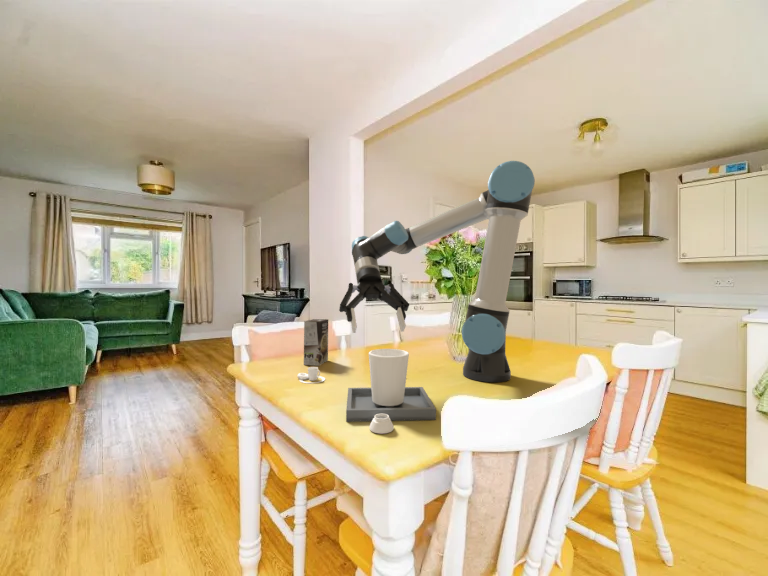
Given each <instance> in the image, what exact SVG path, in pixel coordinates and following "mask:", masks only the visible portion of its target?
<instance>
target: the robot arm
mask: <svg viewBox="0 0 768 576" xmlns="http://www.w3.org/2000/svg"><path fill="white" fill-rule="evenodd" d="M534 187H535V176H534V172H533V171H532V169H531V168H530V167H529V166H528V165H527V164H526V163H524V162H522V161H518V160H509V161H504V162H502V163H500V164H499V165H497V166H496V167H494V169H493V170H492V172H491V174H490V175H489V178H488V181H487V189H488V190H485V191H483V192H481V193H480V195H479V197H477V198H475V199H472V200H469V201H468V202H465V203H463V204H461V205H459V206H456V207H453V208H451V209H448V210H447V211H444V212H442V213H440V214H438V215H436V216H433V217H430V218H428V219H425V220H423V221H421V222H419V223H416V224H413V225H412V226H410V227H407V228H405V226H404V225H403V224H402V223H401V222H400V221H399V220H394V221H392V222H391V223H388V224H387V225H385V226H384V227H383V228H381V229H379V230H378V231H377V232H375V233H374V234H372V235H371V236H366V235H362V236H358V237H356V238H355V239H353V241H352V242H351V256H352V259H353V260H352V261H353V264H354V270H355V277H356V283H357V285H356V284H354V283H352V282H350V283H348V286H347V291H346V293H345V294H344V296H343V298H342V300H341V302H340V303H339V309H338V311H339V312H340V313H343V312H344V313H345V316H346V320H347V322H348V323H349V322H350V323H351V325H350V326H351V330H352V331H351V333H352V334H356V333H357V328H358V327H357V326H358V325H357V319H356V313H355V308H357V306H358V305H359V304H360V303H361V302H362V301H363V300H365V299H366V300H371V299H374V300H379V301H381V302H382V301H383V302H384V303H386V304H387V305H389V306H390V307H391V308H393V309H394V310H395V311H396V312H395V313H396V317H397V321H398V326H399V328H400V332H405V328H406V326H407V325H406V322H405V321H406V317H407V315H406V312H407V311H408V310H409V307H410V303H409V302H408V301H407V300H406V299H405V298H404V296H403V295H402V294H401V293H400V292H399V291H398V290H397V289H396V288H395V285H394V284H393V283H392V282H391V283H389V284H388V285H385V284H384V283H383V279H382V276H381V272H380V267H379V263H378V259H380V258H382V257H384V256H385V255H387V254H388V253H390V252H393V253H396V254H399V255H407V254H410V253H411V252H412V250H414V249H416V248H418V247H419V248H420V247H421V246H424V245H426V244H428V243H431V242H434V241H436V240H439V239H441V238H444V237H446V236H449V235H451V234H453V233H456V232H459V231H462V230H463V229H465V228H468V227H471V226H474V225H475V224H478V223H481V222H483V221H486V220H488V223H487V229H486V235H485V239H484V240H485V241H484V246H483V252H482V257H481V262H480V268H479V273H478V274H479V275H478V280H477V283H476V290H475V297H474V298H473V299H472V300H471V301H469V302H468V305H467V309H466V314H465V315H466V316H465V322H463V324H462V327H461V337H462V341H463V343H464V344H465V346H466V347H467V348H468V353H467V355H466V358H465V360H464V364H463V367H462V375H463V376H464V377H466V378H467V379H470V380H474V381H478V382H486V383H502V382H508V381H510V380H511V379H512V378H511V377H512V376H511V372H512V371H511V367H510V364H509V361H508V359H507V355H506V343H507V342H506V341H507V340H506V338H507V337H506V336H507V326H508V321H509V316H510V311H511V310H510V309H509V308H508V306H507V304H506V302H507V296H508V290H509V286H510V285H509V284H510V279H511V276H512V269H513V263H514V258H515V253H516V247H517V241H518V236H519V232H520V225H521V222H522V220H523V219H525V218H526V217H527V216H528V214H529V209H530V205H531V204H530V203H531V199H532V194H533V189H534ZM356 291H357V292H358V293H357V295H355V297H353V299H352V300H351V301H350V299H351V297H352V294H354V293H355V292H356ZM349 301H350V302H349Z"/></svg>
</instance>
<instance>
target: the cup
mask: <svg viewBox="0 0 768 576" xmlns="http://www.w3.org/2000/svg"><path fill="white" fill-rule="evenodd" d="M409 355H410V353H409V352H408V351H407V350H403V349H399V348H378V349H372V350H370V351H369V352H368V361H369V362H368V363H369V374H370V376H369V377H370V388H371V390H372V401H373V402H374V404H375V406H376V407H382V406H385V407H386V408H394V407H395V406H398V407H400V406H402V404H403V401H404V393H405V387H406V385H407V384H406V382H407V375H408V365H409Z"/></svg>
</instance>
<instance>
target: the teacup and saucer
mask: <svg viewBox="0 0 768 576" xmlns="http://www.w3.org/2000/svg"><path fill="white" fill-rule="evenodd" d="M296 376H297V378H298V379H299V382H300V383H302V384H303V383H304V384H319V383H322V382H324V381H326V377H324V376H321V371H320V370H319V366H310V367H307V373H306V372H299V373H298V374H297V375H296ZM318 378H319V379H321V380H320V381H317V379H318ZM305 380H309V381H313V382H307V381H305ZM314 381H315V382H314Z"/></svg>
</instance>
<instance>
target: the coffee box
mask: <svg viewBox="0 0 768 576" xmlns="http://www.w3.org/2000/svg"><path fill="white" fill-rule="evenodd" d="M303 323H304V325H303V365H304V366H305V365H306V366H313V367H319V366H321V365H323V364H325V363H326V362H328V361H329V319H327V318H325V319H324V318H323V319H322V318H319V319H317V318H316V319H315V318H313V319H309V320H304V322H303ZM324 362H325V363H324Z"/></svg>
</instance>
